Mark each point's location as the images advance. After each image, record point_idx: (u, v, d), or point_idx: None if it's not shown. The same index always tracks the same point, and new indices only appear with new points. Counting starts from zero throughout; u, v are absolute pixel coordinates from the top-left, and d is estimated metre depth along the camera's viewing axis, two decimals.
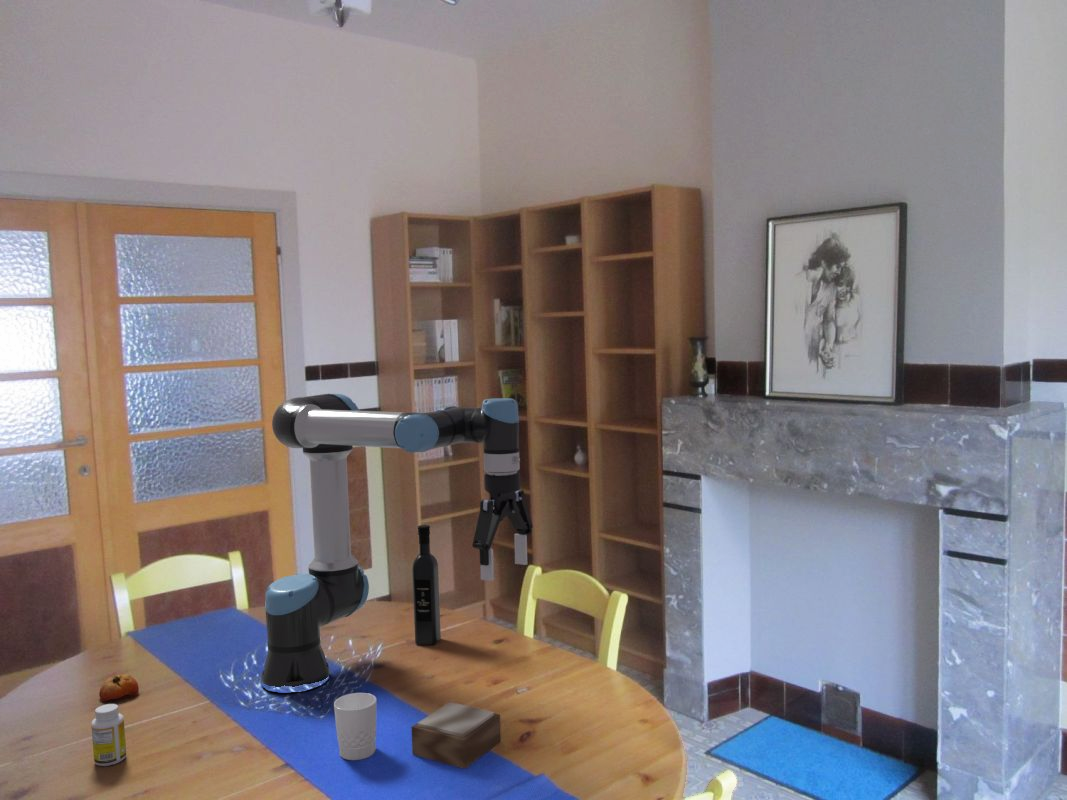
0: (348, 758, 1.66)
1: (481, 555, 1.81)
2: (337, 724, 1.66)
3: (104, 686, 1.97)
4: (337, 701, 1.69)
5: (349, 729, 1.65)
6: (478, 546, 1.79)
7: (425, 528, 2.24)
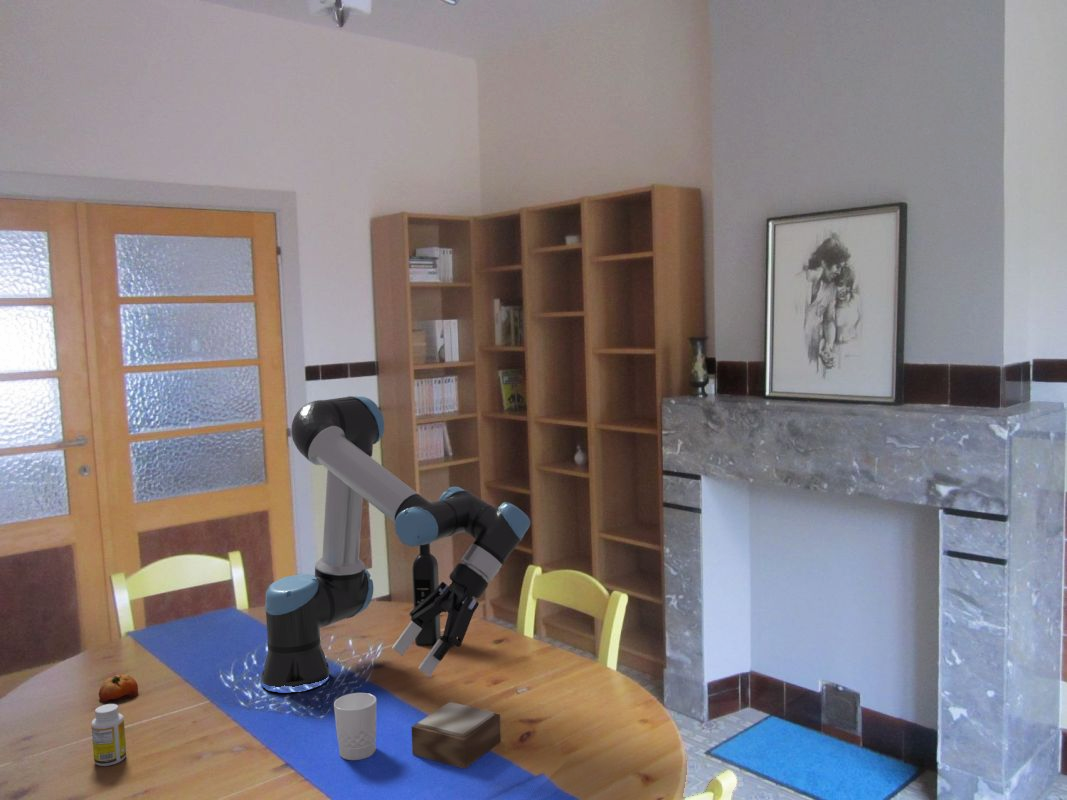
0: (348, 758, 1.66)
1: (443, 649, 1.68)
2: (337, 724, 1.66)
3: (103, 686, 1.97)
4: (337, 701, 1.69)
5: (349, 729, 1.65)
6: (456, 643, 1.67)
7: None
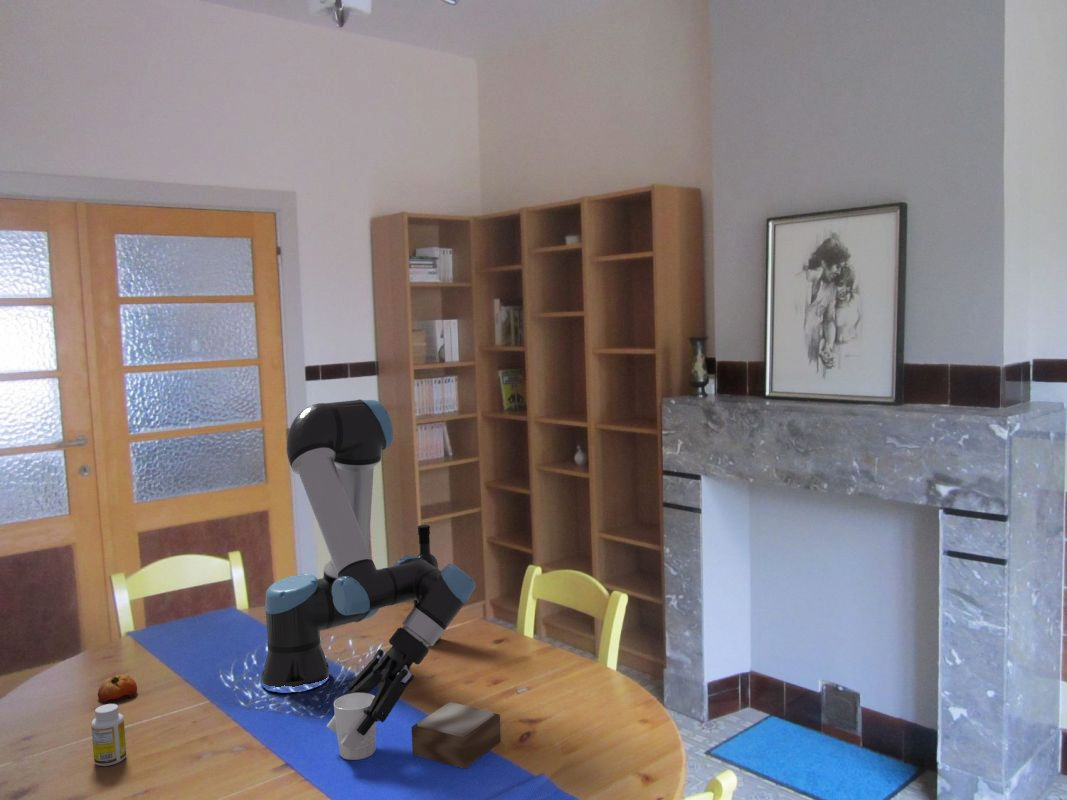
0: (348, 758, 1.66)
1: (367, 724, 1.64)
2: (337, 724, 1.66)
3: (102, 686, 1.97)
4: (336, 701, 1.69)
5: (349, 729, 1.65)
6: (380, 718, 1.63)
7: (425, 528, 2.24)
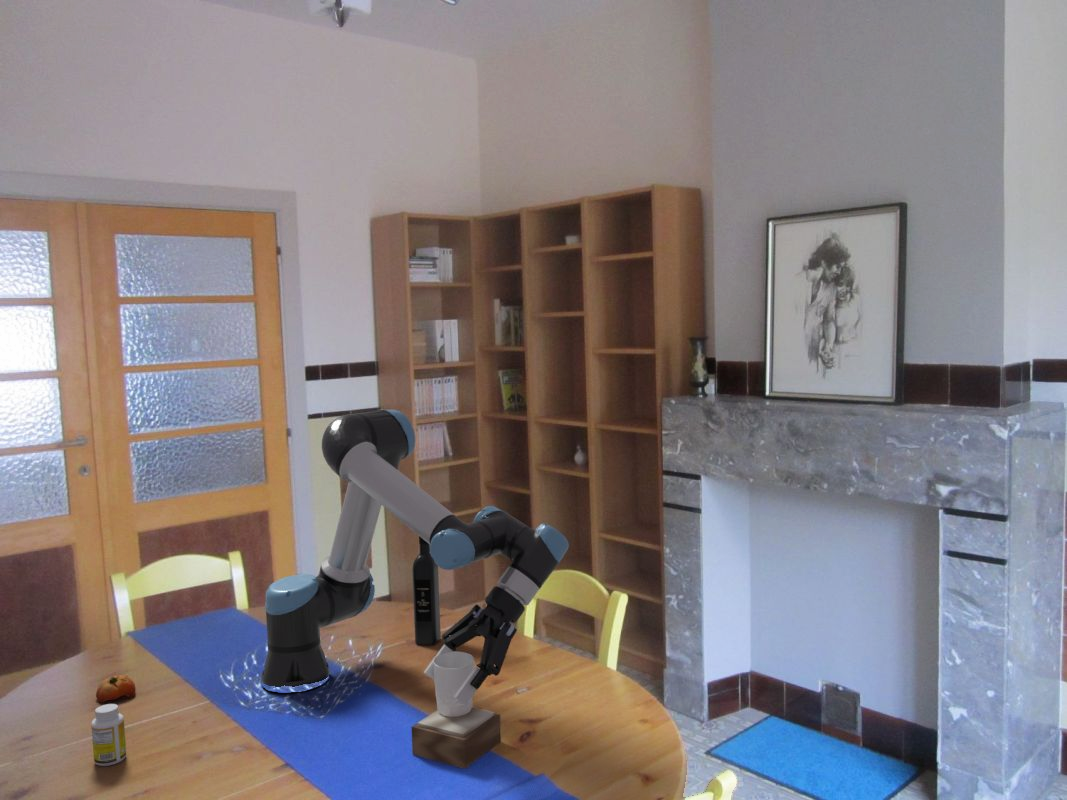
0: (447, 715, 1.69)
1: (480, 677, 1.62)
2: (437, 682, 1.69)
3: (101, 687, 1.96)
4: (435, 659, 1.72)
5: (450, 687, 1.68)
6: (494, 671, 1.61)
7: None
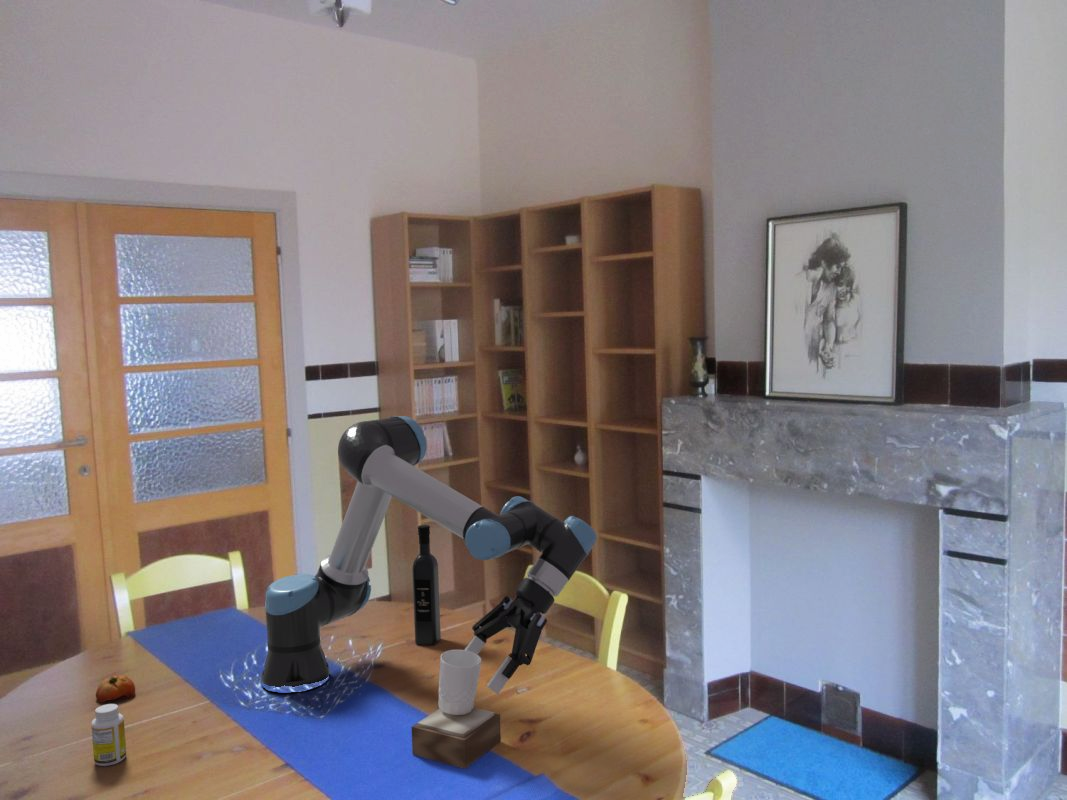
0: (448, 712, 1.69)
1: (512, 667, 1.65)
2: (441, 678, 1.70)
3: (101, 687, 1.96)
4: (443, 655, 1.72)
5: (453, 685, 1.68)
6: (526, 661, 1.64)
7: (425, 528, 2.24)
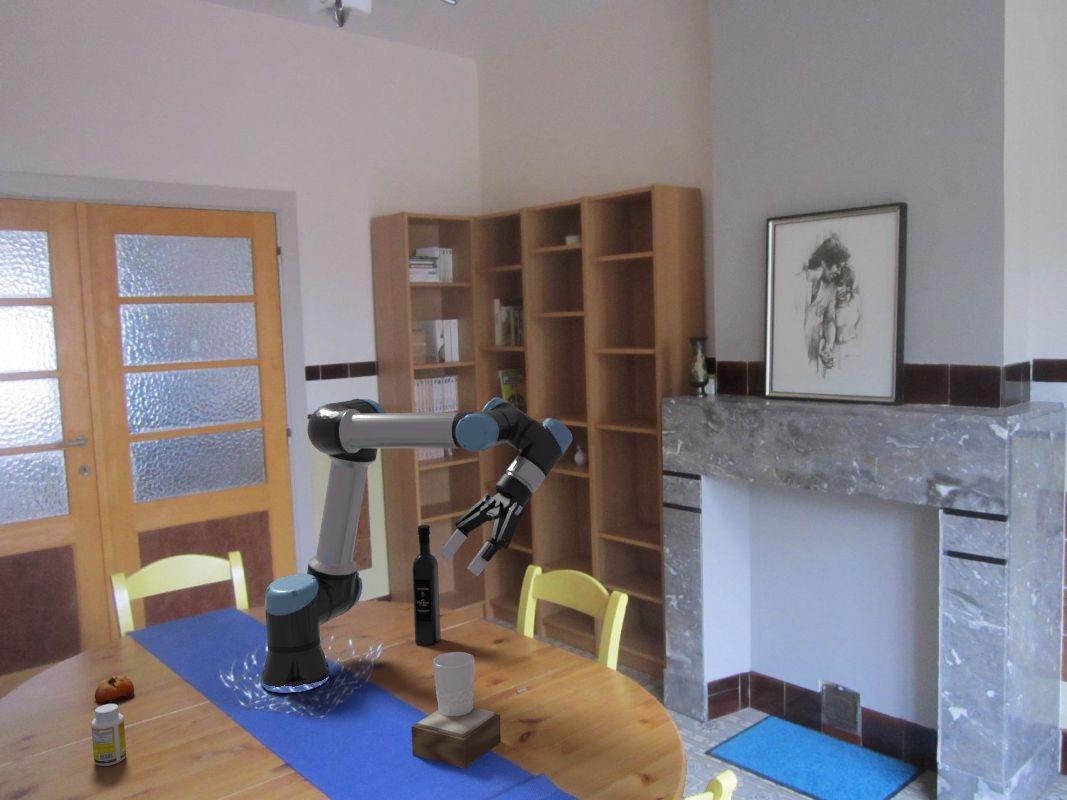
0: (447, 714, 1.70)
1: (491, 551, 1.75)
2: (436, 681, 1.70)
3: (99, 687, 1.96)
4: (436, 659, 1.73)
5: (448, 686, 1.69)
6: (504, 544, 1.75)
7: (425, 528, 2.24)
